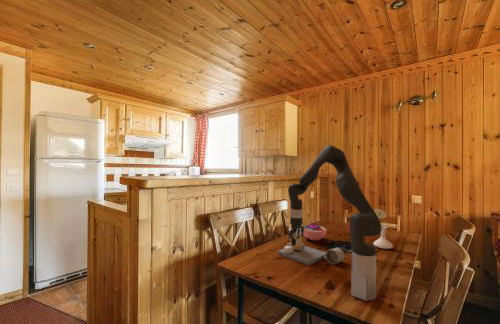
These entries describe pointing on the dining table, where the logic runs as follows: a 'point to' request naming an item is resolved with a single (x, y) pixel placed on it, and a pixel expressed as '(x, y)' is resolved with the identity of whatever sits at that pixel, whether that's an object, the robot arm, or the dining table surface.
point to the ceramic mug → (334, 255)
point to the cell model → (314, 231)
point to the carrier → (302, 254)
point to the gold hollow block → (297, 243)
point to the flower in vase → (382, 232)
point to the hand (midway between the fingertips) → (296, 244)
